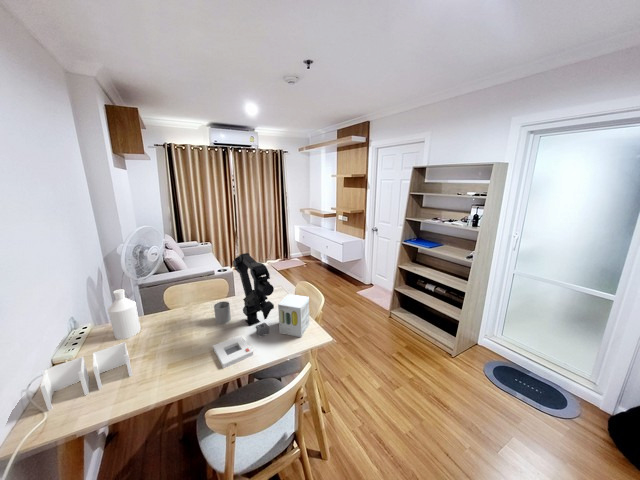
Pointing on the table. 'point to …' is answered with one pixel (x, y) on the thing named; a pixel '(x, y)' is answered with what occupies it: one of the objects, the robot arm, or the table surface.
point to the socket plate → (232, 351)
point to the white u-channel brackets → (83, 371)
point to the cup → (222, 312)
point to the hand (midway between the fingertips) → (261, 315)
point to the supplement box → (293, 315)
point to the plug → (262, 329)
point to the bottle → (124, 316)
